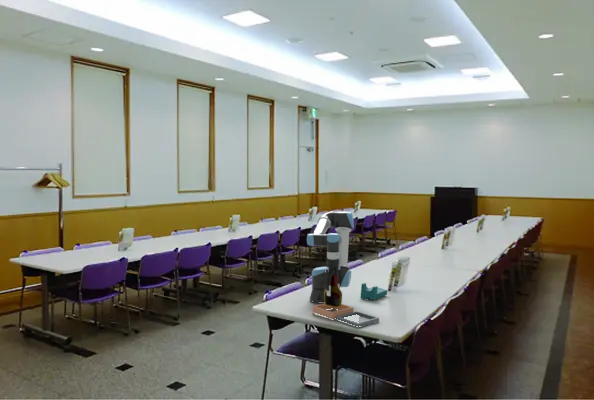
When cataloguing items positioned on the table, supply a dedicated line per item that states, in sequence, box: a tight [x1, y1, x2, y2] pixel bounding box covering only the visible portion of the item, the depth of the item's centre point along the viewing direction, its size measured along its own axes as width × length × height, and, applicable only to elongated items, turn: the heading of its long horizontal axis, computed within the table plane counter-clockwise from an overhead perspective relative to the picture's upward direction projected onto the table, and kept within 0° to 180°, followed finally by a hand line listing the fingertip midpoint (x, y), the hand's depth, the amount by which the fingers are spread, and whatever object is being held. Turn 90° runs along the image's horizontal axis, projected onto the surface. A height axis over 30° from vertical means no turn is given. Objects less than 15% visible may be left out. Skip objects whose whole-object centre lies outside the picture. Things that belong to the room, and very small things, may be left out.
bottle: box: [324, 274, 343, 307], centre depth 297 cm, size 12×6×20 cm, turn 55°
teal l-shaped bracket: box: [360, 282, 388, 301], centre depth 339 cm, size 18×11×10 cm, turn 140°
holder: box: [312, 303, 354, 319], centre depth 297 cm, size 18×18×5 cm
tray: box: [336, 310, 380, 327], centre depth 284 cm, size 18×18×2 cm
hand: (333, 294), depth 297 cm, fingers closed on bottle, 7 cm apart
